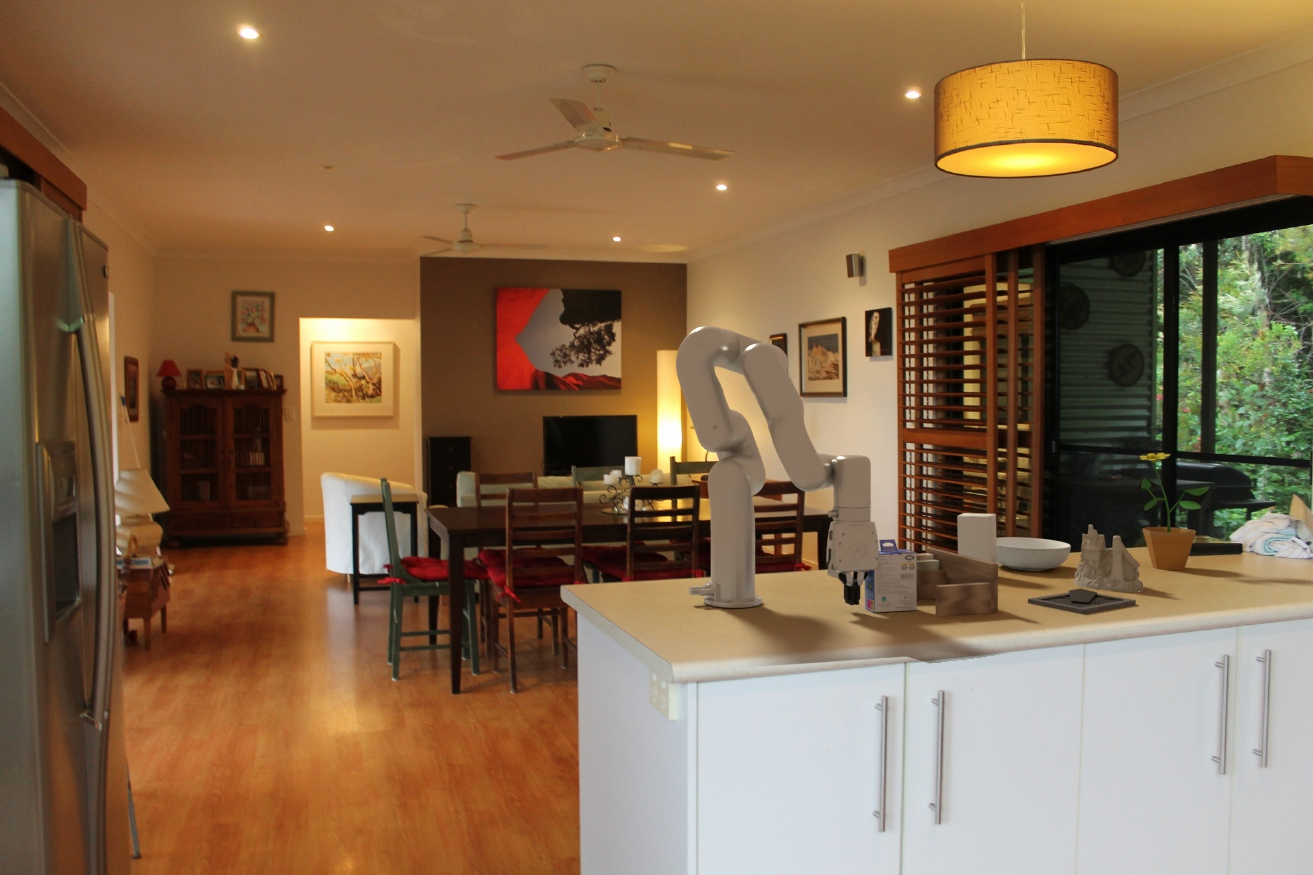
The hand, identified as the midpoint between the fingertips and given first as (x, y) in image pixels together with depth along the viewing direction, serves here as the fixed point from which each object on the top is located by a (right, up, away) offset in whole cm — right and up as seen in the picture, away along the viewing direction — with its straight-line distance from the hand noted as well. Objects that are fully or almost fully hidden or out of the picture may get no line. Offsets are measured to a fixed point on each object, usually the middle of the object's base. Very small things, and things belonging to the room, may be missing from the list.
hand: (852, 603), depth 203 cm
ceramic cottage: (+67, -1, +30) cm, 74 cm away
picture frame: (+51, -2, +8) cm, 51 cm away
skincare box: (+39, -1, +42) cm, 58 cm away
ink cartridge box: (+8, -2, +3) cm, 9 cm away
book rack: (+20, -1, +9) cm, 22 cm away
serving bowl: (+57, 0, +55) cm, 79 cm away
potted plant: (+93, 0, +54) cm, 108 cm away
